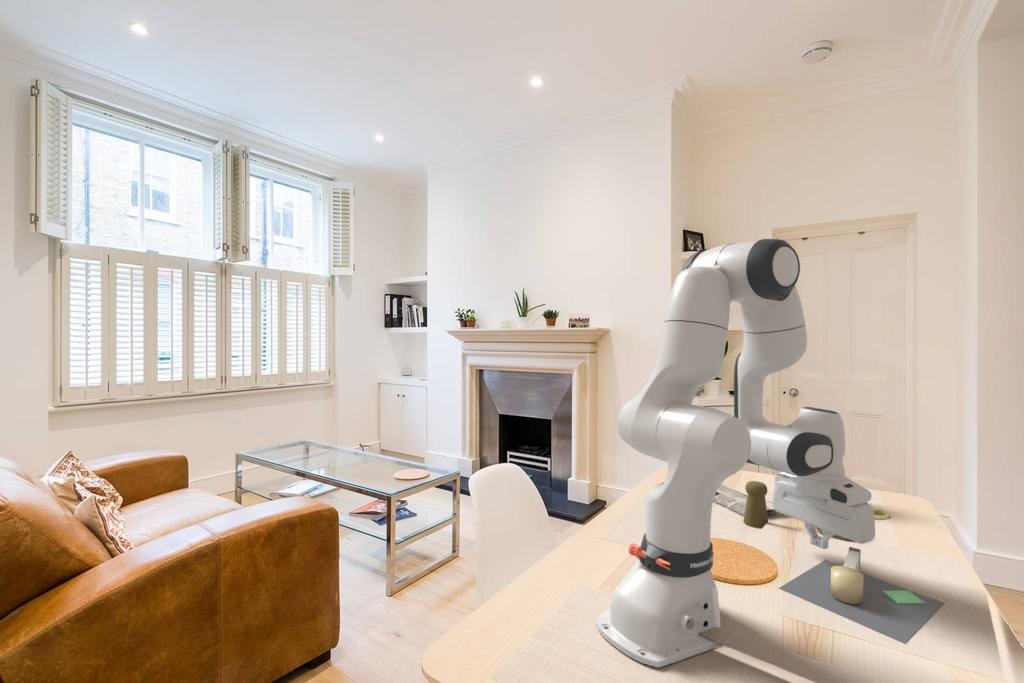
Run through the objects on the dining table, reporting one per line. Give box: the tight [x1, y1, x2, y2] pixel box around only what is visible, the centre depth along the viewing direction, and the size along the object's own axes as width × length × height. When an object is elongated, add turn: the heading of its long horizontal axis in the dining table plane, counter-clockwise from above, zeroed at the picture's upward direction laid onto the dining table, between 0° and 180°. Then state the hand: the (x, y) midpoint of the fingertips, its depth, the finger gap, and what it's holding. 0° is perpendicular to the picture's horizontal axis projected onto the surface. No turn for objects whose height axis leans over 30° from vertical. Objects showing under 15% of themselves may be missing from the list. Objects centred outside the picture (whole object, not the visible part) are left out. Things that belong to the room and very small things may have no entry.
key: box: [872, 508, 890, 521], centre depth 136 cm, size 7×12×2 cm, turn 29°
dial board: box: [778, 559, 946, 645], centre depth 92 cm, size 20×20×2 cm
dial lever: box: [831, 546, 864, 604], centre depth 95 cm, size 16×5×5 cm, turn 139°
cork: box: [742, 480, 769, 529], centre depth 128 cm, size 6×6×11 cm
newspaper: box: [713, 482, 778, 518], centre depth 149 cm, size 35×12×4 cm, turn 20°
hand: (819, 546), depth 104 cm, fingers closed
